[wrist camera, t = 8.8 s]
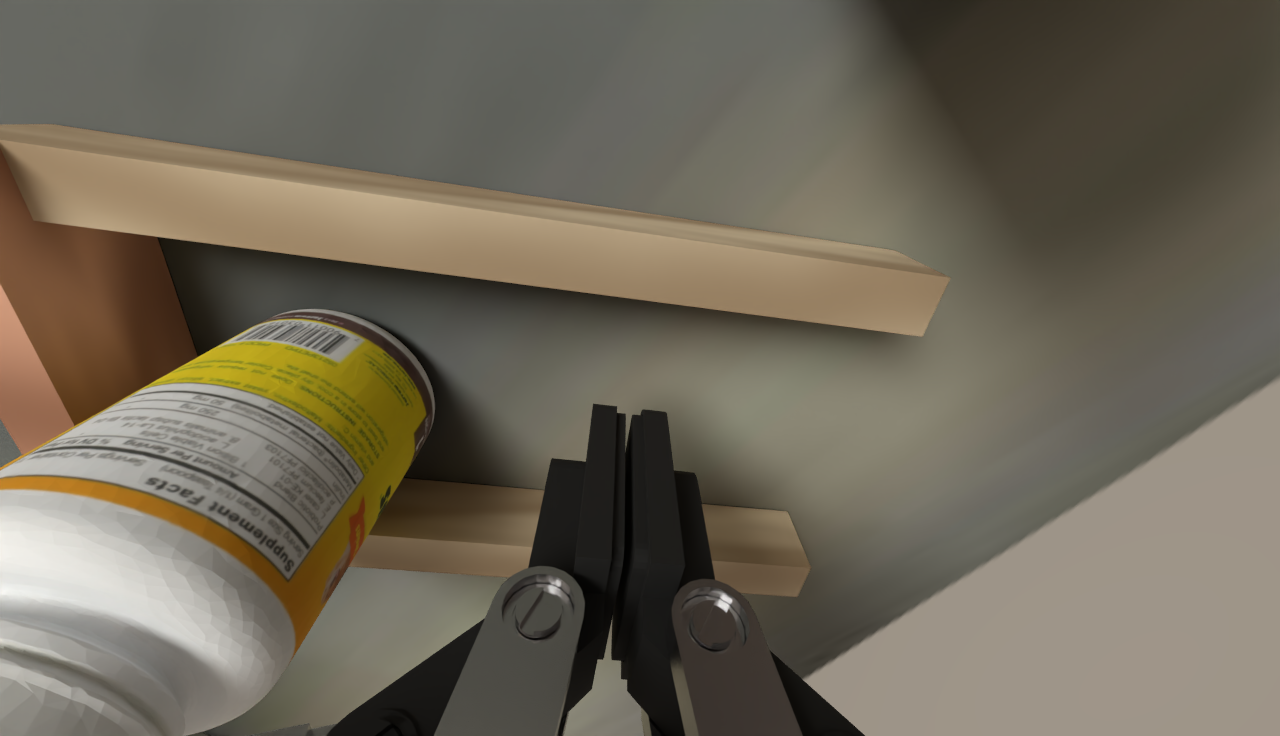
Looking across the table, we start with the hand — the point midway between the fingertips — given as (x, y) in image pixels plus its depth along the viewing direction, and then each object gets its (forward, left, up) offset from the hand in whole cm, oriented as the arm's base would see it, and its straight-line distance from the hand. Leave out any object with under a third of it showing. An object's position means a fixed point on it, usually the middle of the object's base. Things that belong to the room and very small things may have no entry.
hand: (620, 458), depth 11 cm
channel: (+1, -3, -4) cm, 6 cm away
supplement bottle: (+2, -8, -4) cm, 9 cm away
